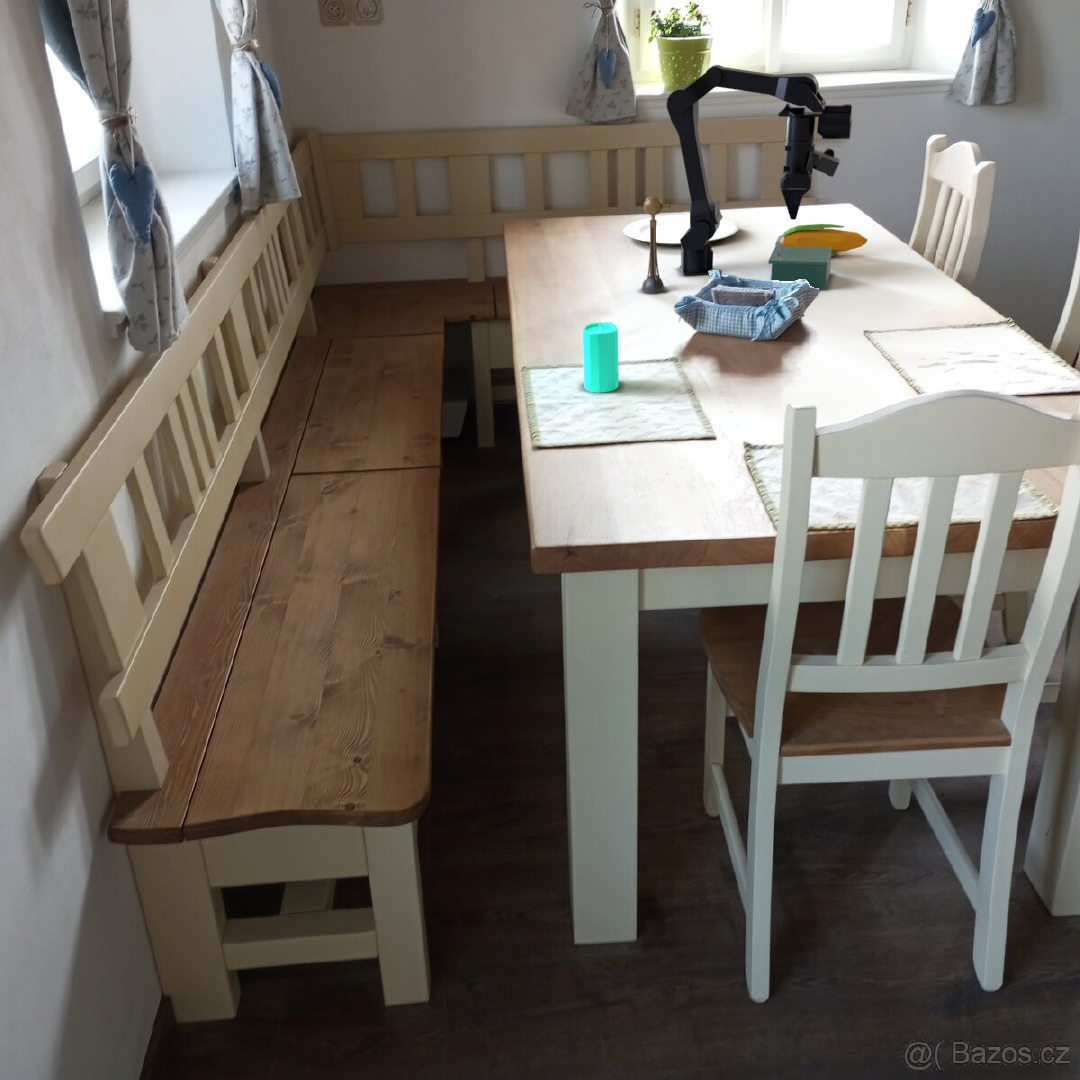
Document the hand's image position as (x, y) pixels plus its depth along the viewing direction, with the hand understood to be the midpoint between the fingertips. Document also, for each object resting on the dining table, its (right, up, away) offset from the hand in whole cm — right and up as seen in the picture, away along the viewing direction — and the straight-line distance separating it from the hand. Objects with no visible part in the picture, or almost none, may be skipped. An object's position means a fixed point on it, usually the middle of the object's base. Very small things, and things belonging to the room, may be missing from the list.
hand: (794, 214), depth 237 cm
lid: (+1, -9, -1) cm, 10 cm away
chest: (+2, -14, +2) cm, 14 cm away
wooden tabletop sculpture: (-30, -17, +1) cm, 34 cm away
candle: (-45, -44, -47) cm, 79 cm away
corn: (+11, -4, +19) cm, 22 cm away
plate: (-19, +7, +42) cm, 47 cm away
